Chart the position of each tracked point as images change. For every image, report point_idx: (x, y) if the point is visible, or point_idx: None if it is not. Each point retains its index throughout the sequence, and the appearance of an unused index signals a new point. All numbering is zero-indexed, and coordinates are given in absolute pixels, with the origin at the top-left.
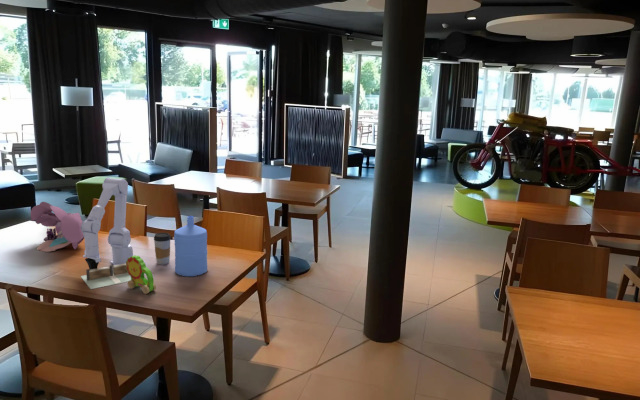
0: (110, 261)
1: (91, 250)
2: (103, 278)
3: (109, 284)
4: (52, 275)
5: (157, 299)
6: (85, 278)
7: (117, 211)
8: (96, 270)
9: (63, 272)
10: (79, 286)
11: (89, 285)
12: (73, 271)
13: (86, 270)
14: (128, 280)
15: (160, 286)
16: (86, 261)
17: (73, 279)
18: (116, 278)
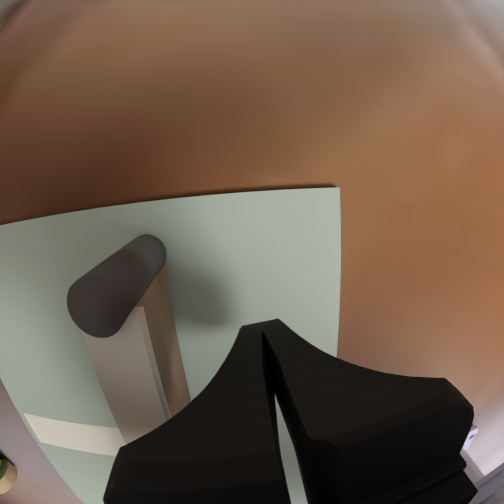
0: (471, 429)
1: None
2: None
3: (7, 378)
4: (455, 5)
5: None
6: (225, 227)
7: None
8: (116, 406)
9: (492, 90)
10: (33, 141)
11: (8, 236)
12: (489, 166)
13: (82, 277)
14: (66, 473)
15: (7, 493)
16: (381, 389)
17: (279, 95)
18: (112, 451)
